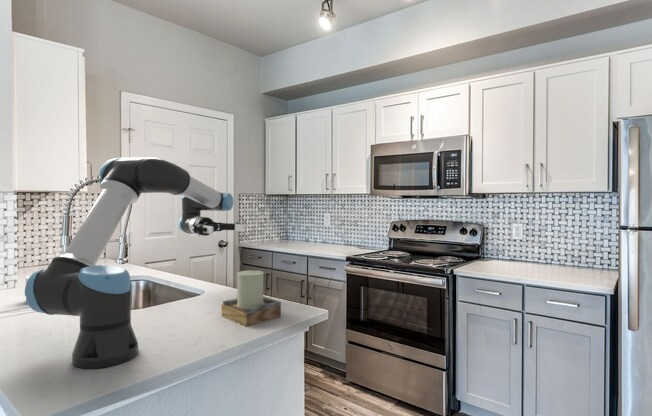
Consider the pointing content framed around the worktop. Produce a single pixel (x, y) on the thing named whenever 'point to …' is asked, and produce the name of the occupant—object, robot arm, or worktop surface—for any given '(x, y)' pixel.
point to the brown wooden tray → (251, 311)
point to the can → (250, 289)
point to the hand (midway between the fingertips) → (229, 229)
